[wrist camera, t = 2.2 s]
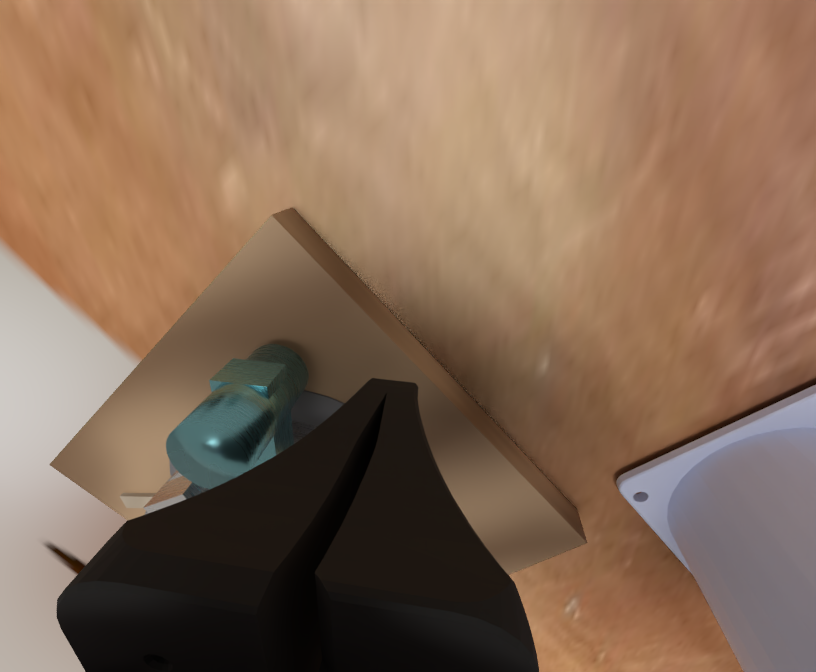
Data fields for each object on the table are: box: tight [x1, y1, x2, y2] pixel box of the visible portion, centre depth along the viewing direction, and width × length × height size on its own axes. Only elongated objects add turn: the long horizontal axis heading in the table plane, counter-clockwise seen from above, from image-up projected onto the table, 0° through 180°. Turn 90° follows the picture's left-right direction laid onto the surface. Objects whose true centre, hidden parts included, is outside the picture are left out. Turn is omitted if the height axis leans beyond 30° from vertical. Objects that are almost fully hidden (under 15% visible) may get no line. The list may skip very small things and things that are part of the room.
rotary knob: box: [143, 344, 316, 514], centre depth 13 cm, size 12×9×4 cm
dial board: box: [50, 208, 587, 575], centre depth 17 cm, size 16×16×2 cm
